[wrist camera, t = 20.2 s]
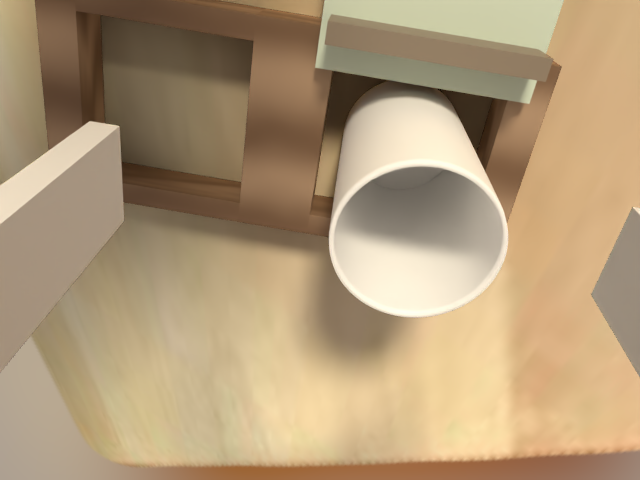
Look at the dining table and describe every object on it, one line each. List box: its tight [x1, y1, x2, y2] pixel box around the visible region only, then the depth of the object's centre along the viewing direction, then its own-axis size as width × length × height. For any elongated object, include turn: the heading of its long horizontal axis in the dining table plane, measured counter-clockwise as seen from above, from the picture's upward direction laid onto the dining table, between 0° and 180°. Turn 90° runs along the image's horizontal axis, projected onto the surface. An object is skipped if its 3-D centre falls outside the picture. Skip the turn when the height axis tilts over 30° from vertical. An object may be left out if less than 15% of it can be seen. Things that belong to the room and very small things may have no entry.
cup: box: [329, 81, 508, 318], centre depth 33 cm, size 8×8×16 cm
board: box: [35, 0, 562, 237], centre depth 35 cm, size 27×32×4 cm
